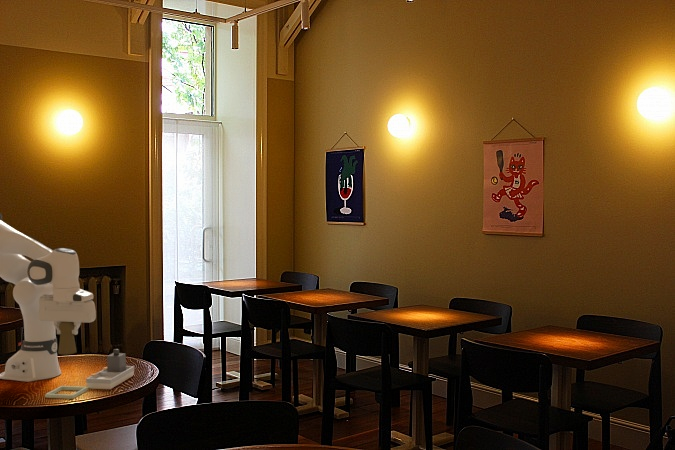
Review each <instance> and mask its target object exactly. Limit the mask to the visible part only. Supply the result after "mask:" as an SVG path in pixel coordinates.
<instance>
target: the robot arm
mask: <svg viewBox="0 0 675 450" xmlns="http://www.w3.org/2000/svg"><path fill="white" fill-rule="evenodd" d="M25 256H26V257H25ZM27 257H28V258H30V259H32V260H29V259H28V258H27ZM79 276H80V261H79V256H78V254H77V252H76V251H75V250H74V249H72V248H68V247H67V248H64V247H61V248H60V247H58V248H55V249H51V248H49V247H47V246H46V245H44V244H43V243H41V242H39V241H37V240H36V239H34V238H32V237H31V236H29V235H26V234H24V233H23V232H20V231H19V230H17V229H15V228H14V227H12V226H10V225H9V224H7V223H6V222H5V221H3V214H2V213H1V212H0V278H1V279H2V280H4V281H5V282H8V283H10V284H13V285H14V287H13V290H12V296H13V299H14V300H15V302H16V303H17V304H18V305H19V308H20V311H21V312H20V313H21V314H22V315H21V316H22V318H23V329H24V330H23V331H24V340H23V339H22V340H21V341H19V342H18V345H17V346H21V347H20V349H19V350H18V351H17V352H16V353H14V354H13V355H12V356H11V357H9V358H8V360H7V361H6V362H5V367H4V368H5V369H4V371H2V372H1V373H0V379H2V380H10V381H20V382H26V383H27V382H34V381H40V380H47V379H51V378H54V377H58V376H60V375H61V374H62V371H61V368H60V363H59V359H58V337H57V336H56V335H60V333H61V331H60V330H59V324H60V323H61V322H74V325H75V328H74V329H73V330H72V331H71V332H72V335H74V336H77V335H78V334H79V328H80V326H81V324H82V323H85V324H86V323H93V322H94V321H95V320H96V318H97V311H96V310H97V309H96V304H95V302H94V301H93V300H94V294H93V292H90V291H88V290H84V289H82V288H80V286H81V285H80V281H79Z"/></svg>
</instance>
